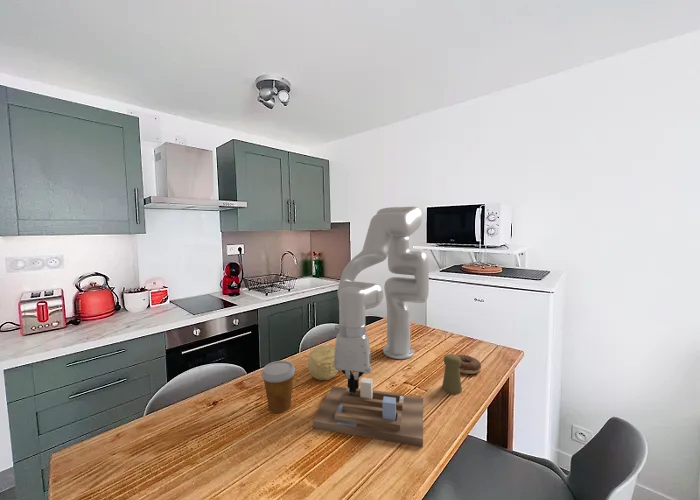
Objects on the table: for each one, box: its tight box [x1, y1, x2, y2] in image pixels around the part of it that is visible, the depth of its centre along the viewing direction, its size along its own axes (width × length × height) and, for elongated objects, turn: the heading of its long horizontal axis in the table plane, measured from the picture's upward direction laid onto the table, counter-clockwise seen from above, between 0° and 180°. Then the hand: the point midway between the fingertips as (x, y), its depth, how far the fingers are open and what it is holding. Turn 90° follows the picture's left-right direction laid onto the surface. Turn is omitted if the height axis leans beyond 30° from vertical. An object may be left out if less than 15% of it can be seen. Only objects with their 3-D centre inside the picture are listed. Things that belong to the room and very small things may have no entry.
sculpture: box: [307, 344, 339, 381], centre depth 103 cm, size 11×12×11 cm
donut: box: [456, 354, 482, 375], centre depth 107 cm, size 11×11×4 cm
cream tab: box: [359, 377, 374, 399], centre depth 85 cm, size 3×3×6 cm
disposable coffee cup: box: [261, 360, 296, 414], centre depth 85 cm, size 10×10×12 cm
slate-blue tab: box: [382, 396, 396, 421], centre depth 76 cm, size 3×3×6 cm
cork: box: [441, 353, 463, 395], centre depth 94 cm, size 6×6×11 cm
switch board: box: [312, 385, 424, 448], centre depth 81 cm, size 17×28×3 cm, turn 76°
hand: (353, 389), depth 86 cm, fingers closed
